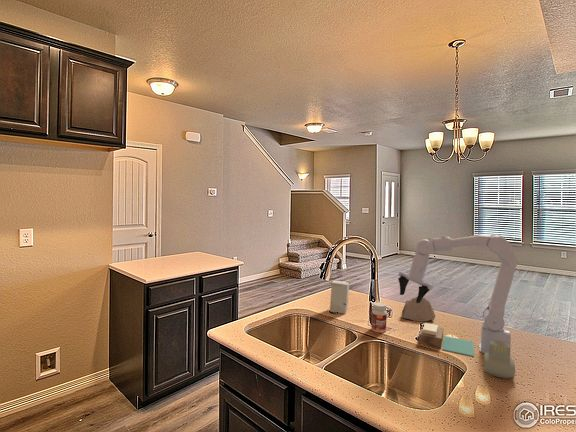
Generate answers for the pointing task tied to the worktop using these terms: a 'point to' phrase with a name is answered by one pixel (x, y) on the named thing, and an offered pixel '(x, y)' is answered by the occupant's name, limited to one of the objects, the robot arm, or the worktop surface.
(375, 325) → the pill bottle
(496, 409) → the worktop surface
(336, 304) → the skincare box
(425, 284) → the robot arm
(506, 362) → the air freshener
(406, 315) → the pumice stone
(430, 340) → the deck
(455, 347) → the mat
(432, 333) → the white flat block
